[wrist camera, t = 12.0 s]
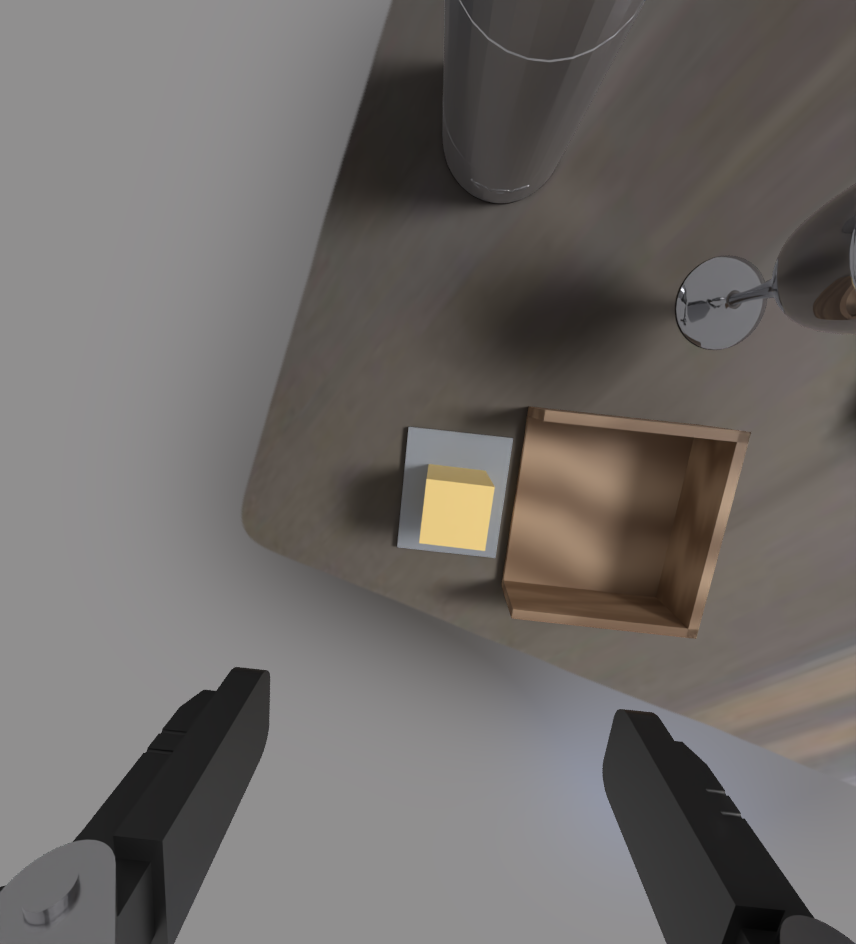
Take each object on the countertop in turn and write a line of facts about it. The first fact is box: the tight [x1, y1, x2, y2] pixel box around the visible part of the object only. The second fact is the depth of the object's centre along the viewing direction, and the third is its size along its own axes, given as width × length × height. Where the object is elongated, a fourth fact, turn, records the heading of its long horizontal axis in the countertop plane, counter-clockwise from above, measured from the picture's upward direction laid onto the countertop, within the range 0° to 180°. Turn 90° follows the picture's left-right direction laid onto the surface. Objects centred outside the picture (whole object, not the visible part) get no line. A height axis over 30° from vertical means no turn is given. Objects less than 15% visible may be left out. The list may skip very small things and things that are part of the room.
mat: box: [397, 427, 513, 558], centre depth 36 cm, size 11×9×1 cm
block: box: [419, 464, 495, 551], centre depth 33 cm, size 5×5×6 cm
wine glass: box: [676, 183, 856, 350], centre depth 26 cm, size 8×8×15 cm
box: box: [501, 407, 751, 639], centre depth 34 cm, size 17×15×6 cm
